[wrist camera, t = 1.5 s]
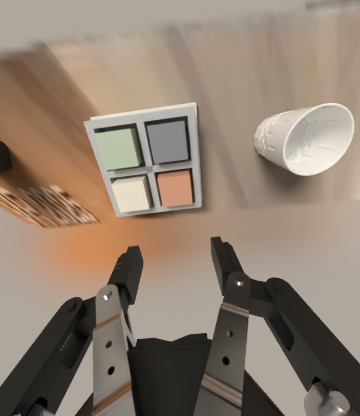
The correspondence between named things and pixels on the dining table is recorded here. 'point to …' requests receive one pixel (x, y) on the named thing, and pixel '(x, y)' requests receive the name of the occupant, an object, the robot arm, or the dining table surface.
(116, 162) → the key sage
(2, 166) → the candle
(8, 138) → the dining table surface
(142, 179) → the key cream
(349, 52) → the dining table surface
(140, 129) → the keypad
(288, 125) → the white cup
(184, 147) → the key slate
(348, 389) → the robot arm
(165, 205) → the key terracotta
